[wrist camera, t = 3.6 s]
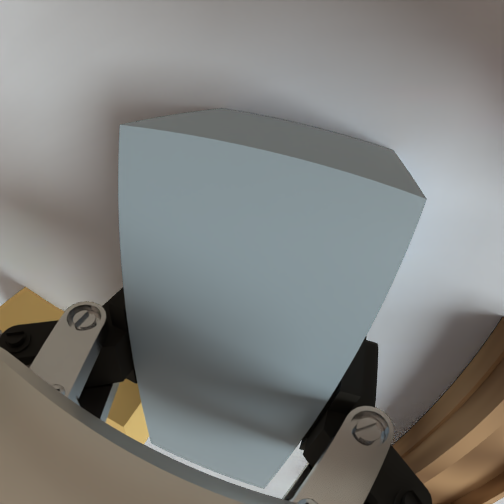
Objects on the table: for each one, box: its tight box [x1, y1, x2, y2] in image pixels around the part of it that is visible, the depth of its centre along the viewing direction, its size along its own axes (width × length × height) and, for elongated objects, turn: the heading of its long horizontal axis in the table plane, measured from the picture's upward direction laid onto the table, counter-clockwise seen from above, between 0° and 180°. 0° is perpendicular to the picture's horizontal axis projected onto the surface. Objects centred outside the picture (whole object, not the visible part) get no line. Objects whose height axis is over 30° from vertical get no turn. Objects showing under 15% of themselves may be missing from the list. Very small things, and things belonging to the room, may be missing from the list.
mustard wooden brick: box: [0, 287, 149, 444], centre depth 16 cm, size 4×12×4 cm, turn 80°
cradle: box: [392, 317, 504, 504], centre depth 10 cm, size 16×10×3 cm, turn 170°
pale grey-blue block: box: [118, 108, 426, 489], centre depth 9 cm, size 12×5×4 cm, turn 170°
